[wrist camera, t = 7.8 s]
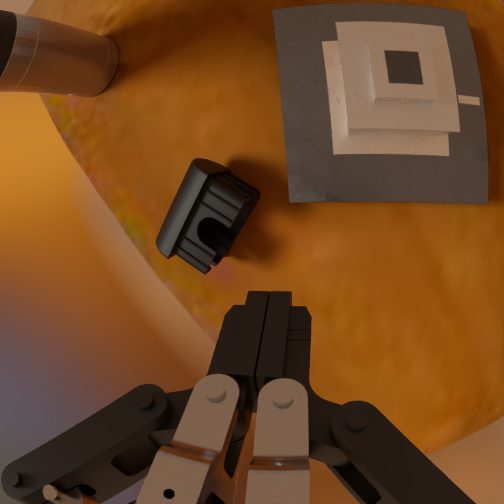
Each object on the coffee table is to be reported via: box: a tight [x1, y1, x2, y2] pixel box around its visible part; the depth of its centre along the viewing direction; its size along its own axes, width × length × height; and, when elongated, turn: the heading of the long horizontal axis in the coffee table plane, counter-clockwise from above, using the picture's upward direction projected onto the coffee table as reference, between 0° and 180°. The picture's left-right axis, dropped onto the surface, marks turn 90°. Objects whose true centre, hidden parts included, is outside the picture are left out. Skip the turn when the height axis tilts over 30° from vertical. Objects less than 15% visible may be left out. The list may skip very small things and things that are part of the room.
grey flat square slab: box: [272, 3, 488, 205], centre depth 25 cm, size 20×20×2 cm
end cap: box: [156, 158, 260, 274], centre depth 33 cm, size 10×7×7 cm
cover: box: [335, 21, 460, 137], centre depth 20 cm, size 8×8×9 cm
